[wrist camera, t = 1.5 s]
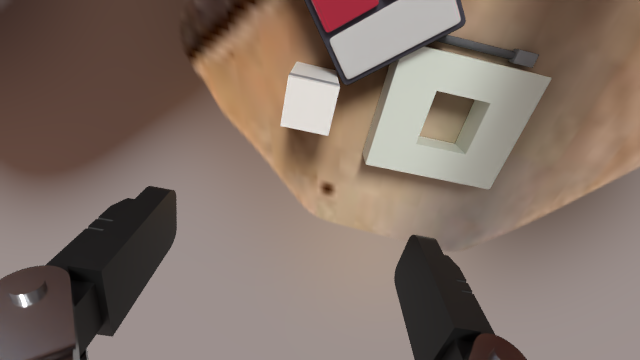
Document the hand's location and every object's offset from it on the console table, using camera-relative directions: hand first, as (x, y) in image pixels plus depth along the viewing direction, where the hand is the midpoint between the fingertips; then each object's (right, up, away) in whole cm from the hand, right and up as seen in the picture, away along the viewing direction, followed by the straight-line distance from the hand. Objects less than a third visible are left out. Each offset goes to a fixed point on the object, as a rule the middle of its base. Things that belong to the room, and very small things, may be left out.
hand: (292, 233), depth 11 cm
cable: (+14, +15, +19) cm, 28 cm away
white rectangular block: (0, +11, +21) cm, 24 cm away
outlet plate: (+14, +9, +22) cm, 27 cm away
